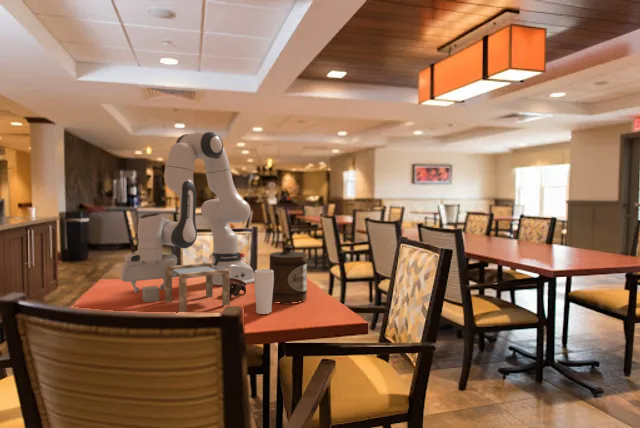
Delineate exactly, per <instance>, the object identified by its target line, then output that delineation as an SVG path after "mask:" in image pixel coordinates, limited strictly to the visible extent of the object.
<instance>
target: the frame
mask: <svg viewBox="0 0 640 428" xmlns="http://www.w3.org/2000/svg"><path fill="white" fill-rule="evenodd" d="M207 266H209V267H212V268H213V264H212V262H206V263H205V262H202V263H193V264H192V263H191V264H182V265H181V264H180V265H176V266H167V267H165V290H164V293H165V294H164V295H165V297H164V299H165V303H166V304H167V303H169V304H170V303H172V302H173V278H172V270H174V269H185V268H196V267H207ZM221 274H222V285H221V286H222V289H221V290H222V292H221V297H222V305H221V306H222V307H224V306H225V305H230V303H231V301H230V299H231V298H230V274H229V269H223V270H213V271H203V272H192V273H182V274H179V276H178V313H180V312H186V313H187V311H188V310H187V306H188V305H187V303H188V301H187V299H188V298H187V279H193V277H194V278H200V277H201V278H203V277H202V276H204V277H205V297H207V298H213V293H214V292H213V290H214V289H213V285H214V284H213V276H212V275H221ZM230 306H231V305H230Z"/></svg>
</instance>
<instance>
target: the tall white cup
mask: <svg viewBox="0 0 640 428" xmlns="http://www.w3.org/2000/svg"><path fill="white" fill-rule="evenodd" d="M253 274H254V282H253V285H254V286H253V287H254V295H255V297H254V298H255V313H256V314H257V313H258V314H257V315H259V314H268V313H270V312H271V313H272V312H273V311H272V310H273V309H272V305H273V302H272V296H273V285H274V271H273V270H271V269H270V268H261V269H260V268H259V269H255V270H253ZM271 313H270V314H271ZM268 315H269V314H268Z"/></svg>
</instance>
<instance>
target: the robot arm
mask: <svg viewBox="0 0 640 428" xmlns="http://www.w3.org/2000/svg"><path fill="white" fill-rule="evenodd" d="M168 152H169V153H168V155H167V159H166V163H165V169H164V173H163V174H164V175H163V176H164V183H165V184H166V186H167V188H169V189H170V191H172V192H174V193H175V194H176V195H177V197H178V199H179V210H178V211H179V213H178V214H179V215H178V216H179V217H178V221H172V220H170V219H168V218H165V217H164V216H162V214H161V213H158V212H152V213H151V212H150V213H144V214H142V215H141V216H140V217H139V220H138V224H137V238H138V244H137V250H136V251H132V252H130V253H127V254H125V255H124V257H123V258H124V261H123V263H122V265H121V269H120V279H121V281H122V282H125V283H127V282H128V283H129V282H130V284H131V286H132V287H133V292H134V293H135V294H137V293H140V287H138V286H136V284H137V282H138V281H150V280H162V281H163V282H162V283H161V284H160V285H159V291H165V267H167V266H177V264H178V257H177V255H175V254H173V253H170V254H165V253H163V245H166V246H172V247H177V248H180V249H189V248H190V247H192V246H193V245H194V243H195V242H196V240H197V238H198V230H197V229H198V228H197V224H196V213H197V211H196V210H197V191H196V186H195V184H194V171H195V164H196V163H195V162H196V161H197V160H201V159H202V160H203V162H204V172H205V175H206V180H207V182H206V183H207V185H208V189H209V190H210V192H212V193H214V194H215V195H216V197H217V198H212V199H208V200H206V201H204V202H203V203H202V204H201V208H200V214H201V216H202V218H203V219H204V220H205V221H206V222H207V224H208V226H209V228H210V231H211V234H212V243H213V244H212V245H213V248H212V249H213V250H212V251H213V252H212V255H211V256H212V257H211V263H212V267H223V268H226V269H229V274H230V278H235V279H239V280H241V281H243V282H245V283H246V285H247V284H252V283H253V284H254V270H253V268H252V267H251V266H250V265H249V264H247V263H246V262H245V261H243V260H242V259H243V258H245V257H246V255H245V253H243V252H239V251H238V249H239V248H238V247H239V246H238V240H239V238H238V235H237V233H236V232H235V231H233V230H232V227H231V225H230V224H240V223H243V222H247V221H248V220H249V218H250V217H251V214H252V213H251V206H250V204H249V203H248V202H247V201H246V200H245V199H243V197H242V196H241V195H240V194H239V192H238V190H237V188H236V186H235V184H234V180H233V175H232V170H231V165H230V162H229V161H230V160H229V156H228V154H227V152H226V149H225V148H224V143H223V140H222V138H221V136H220V135H219V134H217V133H215V132H212V131H206V132H204V131H200V132H199V131H197V132H194V133H192V132H191V133H186V134H182V135H180V136H179V137H178V138H177V140H176V141H175V143H174V144H172V145H171V147H170V150H169V151H168ZM177 276H178V275H177V274H175V273H173V272H172V279H174V278H176V277H177ZM213 285H215V286H216V285H217V286H222V276H221V275H213Z"/></svg>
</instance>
